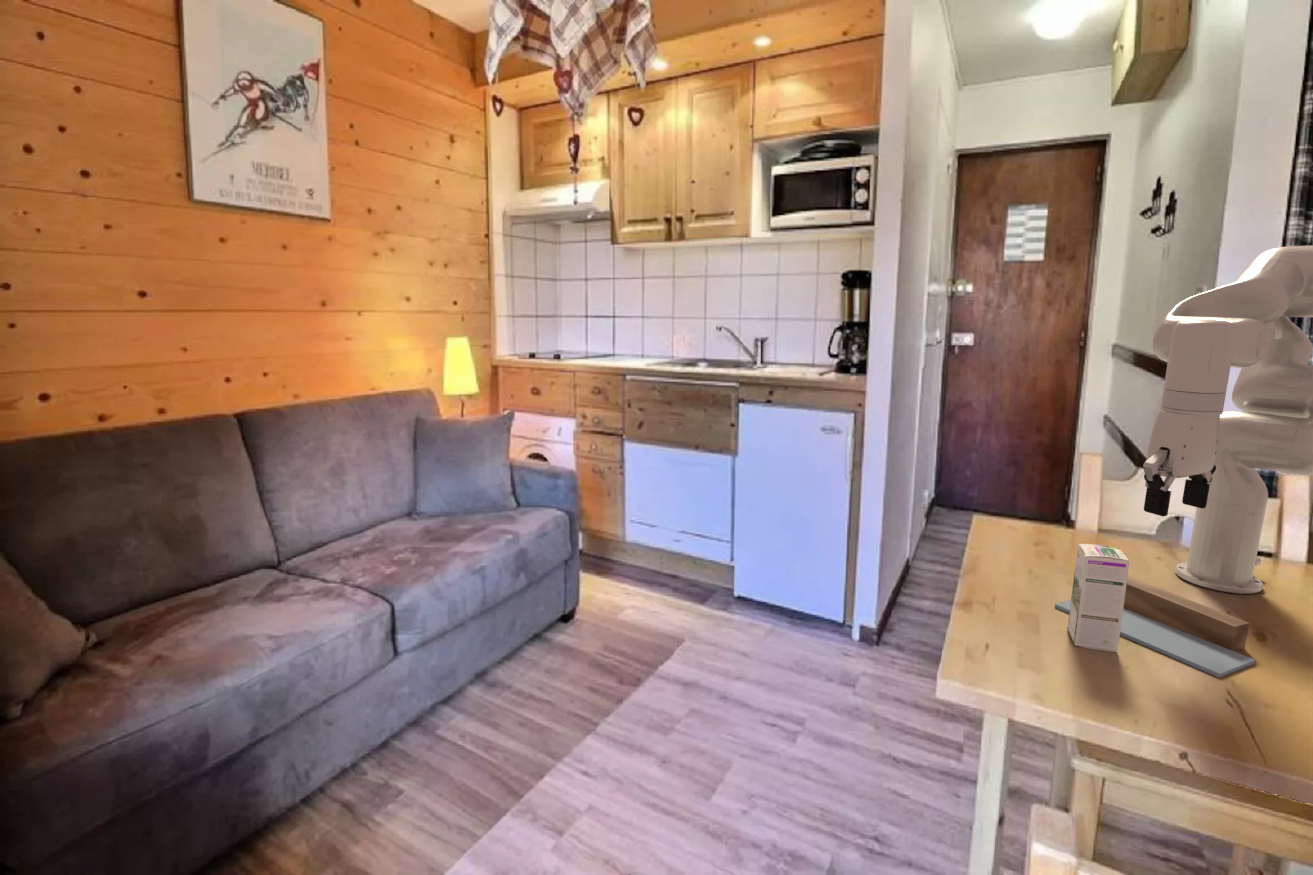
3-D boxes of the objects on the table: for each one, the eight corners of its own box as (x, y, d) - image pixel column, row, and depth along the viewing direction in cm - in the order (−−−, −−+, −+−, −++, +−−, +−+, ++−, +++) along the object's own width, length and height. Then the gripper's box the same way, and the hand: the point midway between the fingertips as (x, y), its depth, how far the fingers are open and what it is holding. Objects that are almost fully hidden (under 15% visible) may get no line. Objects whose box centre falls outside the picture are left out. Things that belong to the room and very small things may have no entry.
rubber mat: (1088, 597, 119) (1089, 594, 119) (1254, 663, 98) (1255, 659, 98) (1054, 607, 115) (1055, 603, 115) (1219, 677, 94) (1220, 673, 94)
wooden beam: (1104, 592, 122) (1108, 568, 121) (1244, 651, 102) (1249, 623, 101) (1090, 594, 121) (1094, 570, 120) (1229, 654, 101) (1234, 626, 100)
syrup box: (1118, 653, 100) (1133, 560, 97) (1072, 646, 102) (1085, 554, 99) (1108, 636, 106) (1122, 546, 103) (1064, 629, 108) (1077, 541, 105)
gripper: (1199, 395, 111) (1182, 497, 115) (1130, 402, 104) (1114, 509, 108) (1254, 402, 104) (1234, 509, 108) (1184, 409, 98) (1165, 524, 101)
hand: (1174, 509), depth 108 cm, fingers open, 9 cm apart
